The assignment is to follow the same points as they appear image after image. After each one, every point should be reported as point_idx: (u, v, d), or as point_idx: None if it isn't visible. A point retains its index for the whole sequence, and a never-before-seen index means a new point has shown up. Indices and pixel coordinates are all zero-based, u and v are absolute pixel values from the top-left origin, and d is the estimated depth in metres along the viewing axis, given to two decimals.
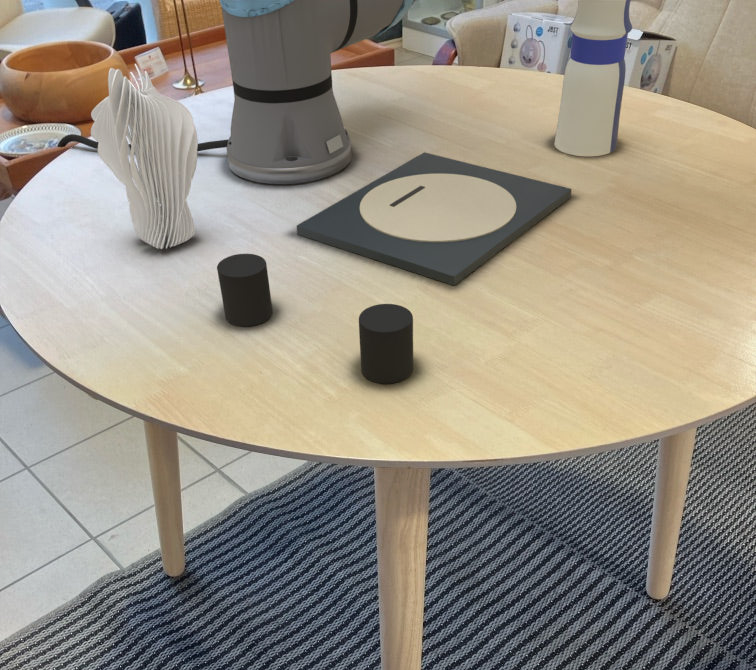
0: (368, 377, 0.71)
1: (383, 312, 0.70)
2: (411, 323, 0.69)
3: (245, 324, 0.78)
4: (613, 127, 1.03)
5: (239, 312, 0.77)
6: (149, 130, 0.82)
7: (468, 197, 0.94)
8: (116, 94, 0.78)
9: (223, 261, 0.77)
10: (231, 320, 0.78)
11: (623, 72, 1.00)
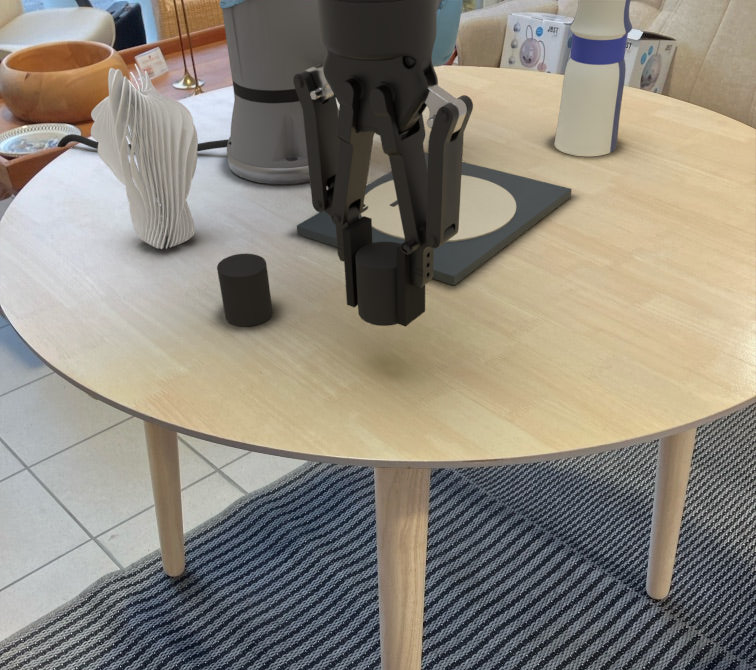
0: (365, 319, 0.68)
1: (381, 249, 0.66)
2: None
3: (245, 324, 0.78)
4: (613, 127, 1.03)
5: (239, 312, 0.77)
6: (149, 130, 0.82)
7: (468, 197, 0.94)
8: (116, 94, 0.78)
9: (223, 261, 0.77)
10: (231, 320, 0.78)
11: (623, 72, 1.00)
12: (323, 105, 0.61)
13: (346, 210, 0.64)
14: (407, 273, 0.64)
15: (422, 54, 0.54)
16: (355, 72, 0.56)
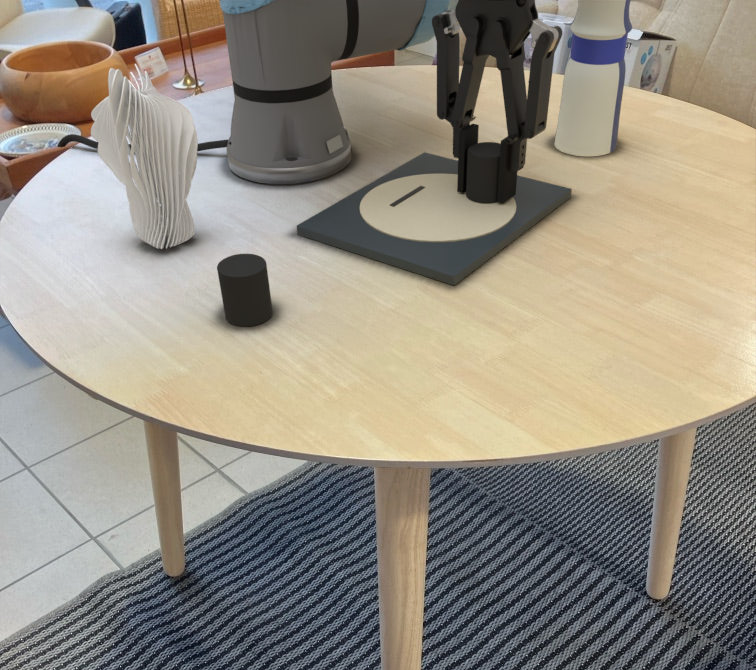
0: (472, 199, 0.93)
1: (486, 146, 0.92)
2: None
3: (245, 324, 0.78)
4: (613, 127, 1.03)
5: (239, 312, 0.77)
6: (149, 130, 0.82)
7: None
8: (116, 94, 0.78)
9: (223, 261, 0.77)
10: (231, 320, 0.78)
11: (623, 72, 1.00)
12: (451, 38, 0.86)
13: (463, 116, 0.90)
14: (507, 161, 0.89)
15: None
16: (480, 11, 0.82)
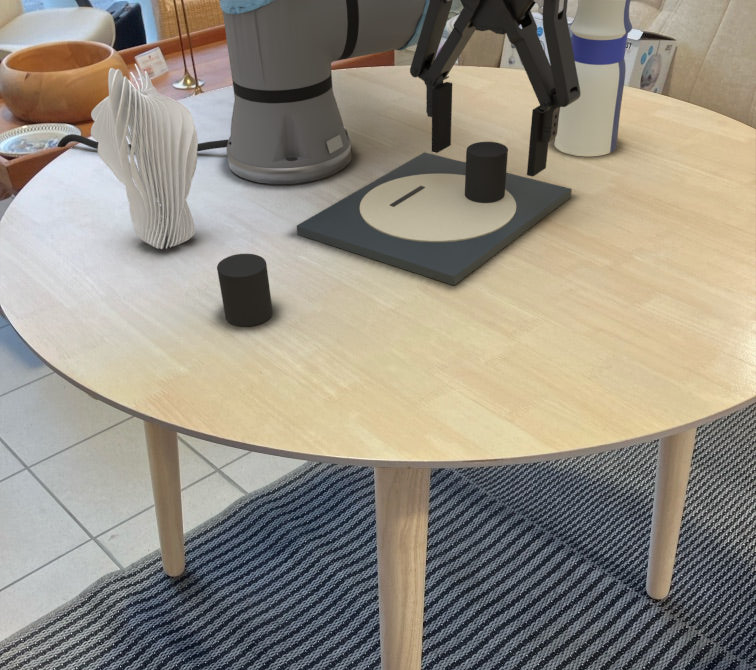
0: (471, 198, 0.93)
1: (484, 146, 0.92)
2: (507, 152, 0.91)
3: (245, 324, 0.78)
4: (613, 127, 1.03)
5: (239, 312, 0.77)
6: (149, 130, 0.82)
7: None
8: (116, 94, 0.78)
9: (223, 261, 0.77)
10: (231, 320, 0.78)
11: (623, 72, 1.00)
12: (444, 4, 0.85)
13: (438, 77, 0.89)
14: (538, 131, 0.85)
15: None
16: None
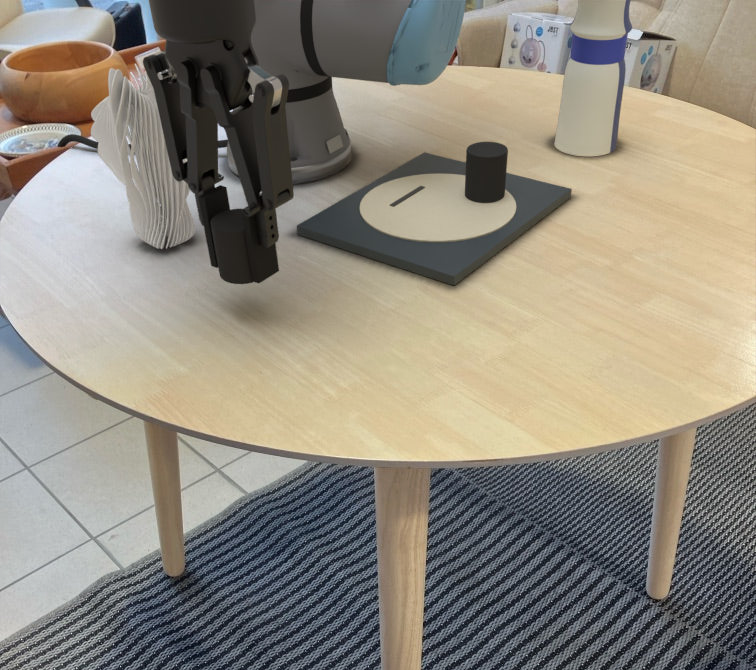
0: (471, 198, 0.93)
1: (484, 146, 0.92)
2: (507, 152, 0.91)
3: (240, 282, 0.75)
4: (613, 127, 1.03)
5: (233, 269, 0.75)
6: (149, 130, 0.82)
7: None
8: (116, 94, 0.78)
9: (217, 216, 0.74)
10: (226, 277, 0.76)
11: (623, 72, 1.00)
12: (171, 85, 0.69)
13: (199, 179, 0.72)
14: (254, 234, 0.72)
15: (240, 38, 0.62)
16: (189, 54, 0.64)
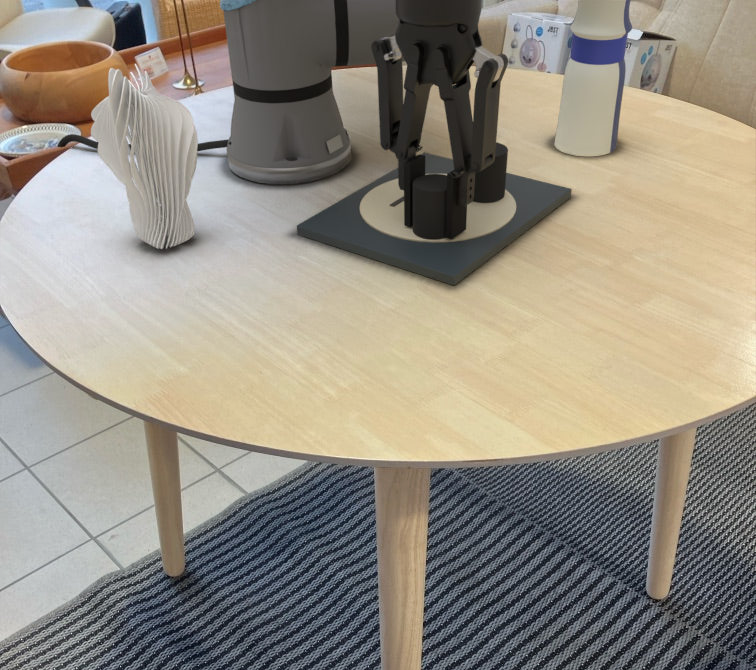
0: None
1: None
2: (507, 152, 0.91)
3: (434, 237, 0.87)
4: (613, 127, 1.03)
5: (430, 226, 0.86)
6: (149, 130, 0.82)
7: None
8: (116, 94, 0.78)
9: (417, 179, 0.86)
10: (421, 233, 0.87)
11: (623, 72, 1.00)
12: (393, 65, 0.80)
13: (407, 147, 0.84)
14: (454, 195, 0.84)
15: (472, 23, 0.73)
16: (420, 38, 0.76)
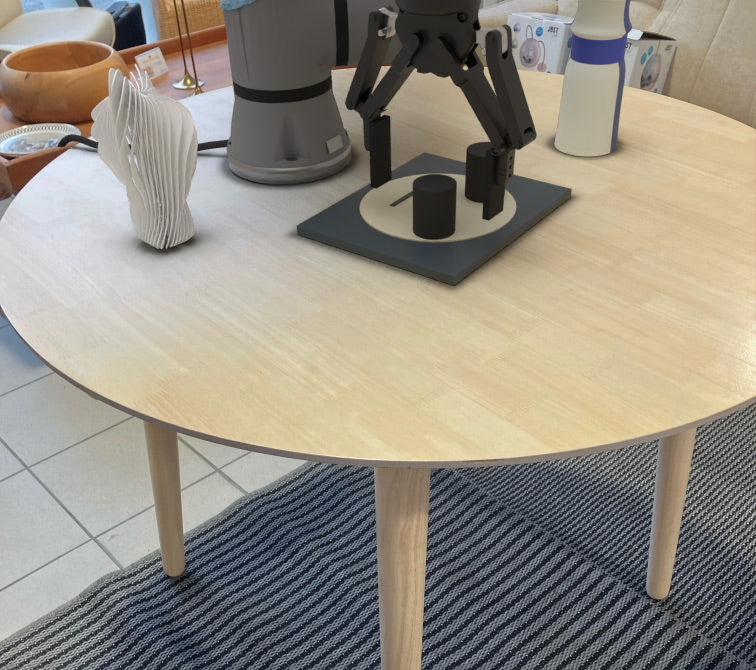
0: (471, 198, 0.93)
1: (484, 146, 0.92)
2: None
3: (434, 237, 0.87)
4: (613, 127, 1.03)
5: (430, 226, 0.86)
6: (149, 130, 0.82)
7: None
8: (116, 94, 0.78)
9: (417, 180, 0.86)
10: (421, 234, 0.87)
11: (623, 72, 1.00)
12: (383, 40, 0.80)
13: (374, 112, 0.84)
14: (493, 174, 0.80)
15: (472, 12, 0.73)
16: (420, 27, 0.76)
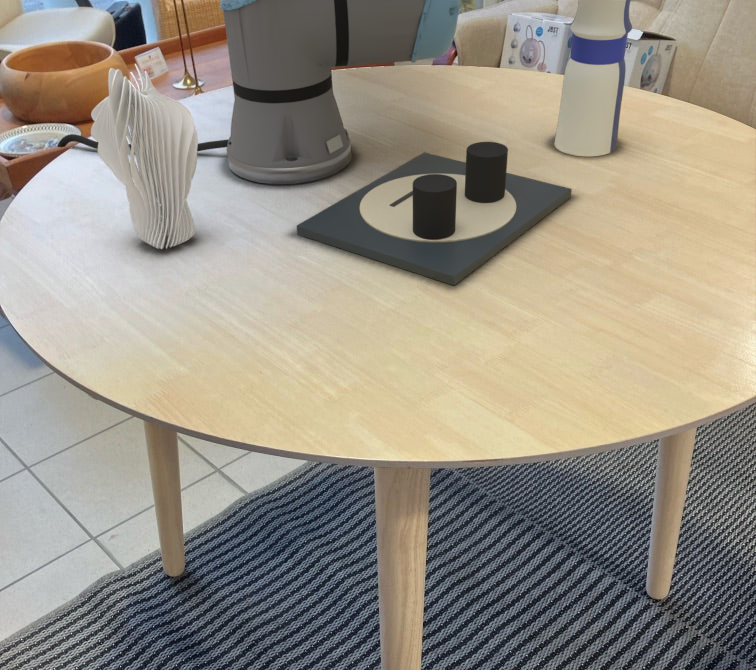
0: (471, 198, 0.93)
1: (484, 146, 0.92)
2: (507, 152, 0.91)
3: (434, 237, 0.87)
4: (613, 127, 1.03)
5: (430, 226, 0.86)
6: (149, 130, 0.82)
7: None
8: (116, 94, 0.78)
9: (417, 180, 0.86)
10: (421, 234, 0.87)
11: (623, 72, 1.00)
12: None
13: None
14: None
15: None
16: None
